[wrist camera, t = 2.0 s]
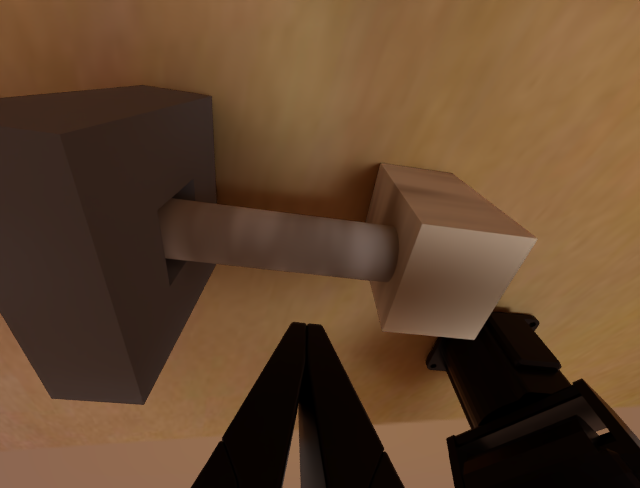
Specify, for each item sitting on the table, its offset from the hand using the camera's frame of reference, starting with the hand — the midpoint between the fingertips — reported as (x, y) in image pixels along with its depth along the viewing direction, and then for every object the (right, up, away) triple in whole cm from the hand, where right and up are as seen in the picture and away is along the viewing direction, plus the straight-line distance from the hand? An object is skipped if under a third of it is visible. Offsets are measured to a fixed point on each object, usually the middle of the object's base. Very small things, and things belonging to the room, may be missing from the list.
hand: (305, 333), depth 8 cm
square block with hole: (-7, +6, +8) cm, 12 cm away
